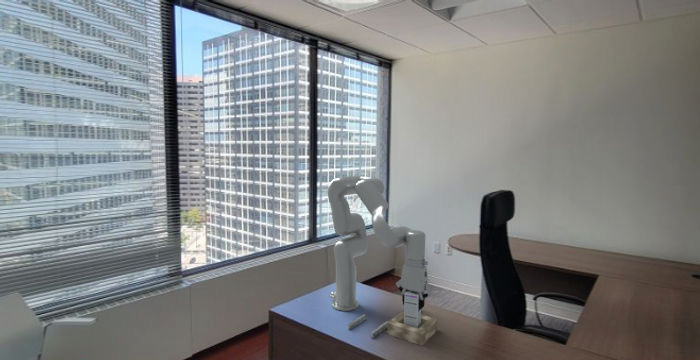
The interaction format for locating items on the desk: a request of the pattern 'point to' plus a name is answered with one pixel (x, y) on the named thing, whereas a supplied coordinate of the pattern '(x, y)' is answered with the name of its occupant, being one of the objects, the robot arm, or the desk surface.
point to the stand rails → (362, 318)
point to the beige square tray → (412, 329)
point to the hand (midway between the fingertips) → (413, 305)
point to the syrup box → (412, 309)
